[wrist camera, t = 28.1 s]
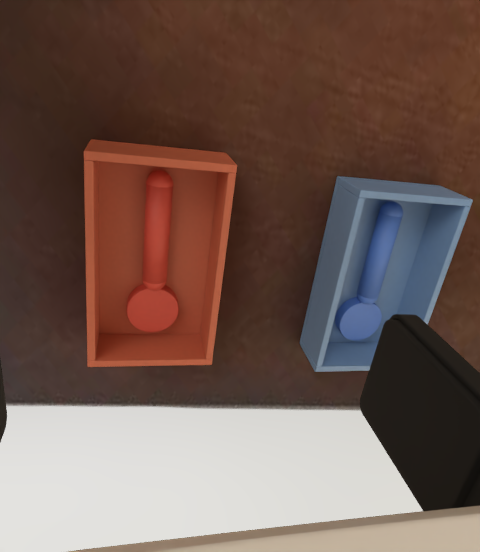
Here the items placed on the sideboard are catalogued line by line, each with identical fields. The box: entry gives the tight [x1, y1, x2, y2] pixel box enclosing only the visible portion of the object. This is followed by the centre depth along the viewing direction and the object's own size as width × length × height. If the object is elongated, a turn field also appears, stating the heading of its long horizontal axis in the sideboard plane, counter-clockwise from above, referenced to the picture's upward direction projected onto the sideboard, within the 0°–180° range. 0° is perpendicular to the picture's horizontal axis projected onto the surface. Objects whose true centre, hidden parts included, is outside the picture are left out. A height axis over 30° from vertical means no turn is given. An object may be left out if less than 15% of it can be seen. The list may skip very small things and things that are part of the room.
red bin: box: [84, 139, 237, 367], centre depth 35 cm, size 17×10×5 cm, turn 172°
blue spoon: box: [335, 202, 403, 341], centre depth 41 cm, size 14×4×2 cm, turn 172°
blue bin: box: [300, 176, 473, 372], centre depth 40 cm, size 17×10×5 cm, turn 172°
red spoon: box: [127, 170, 179, 332], centre depth 36 cm, size 14×4×2 cm, turn 172°
